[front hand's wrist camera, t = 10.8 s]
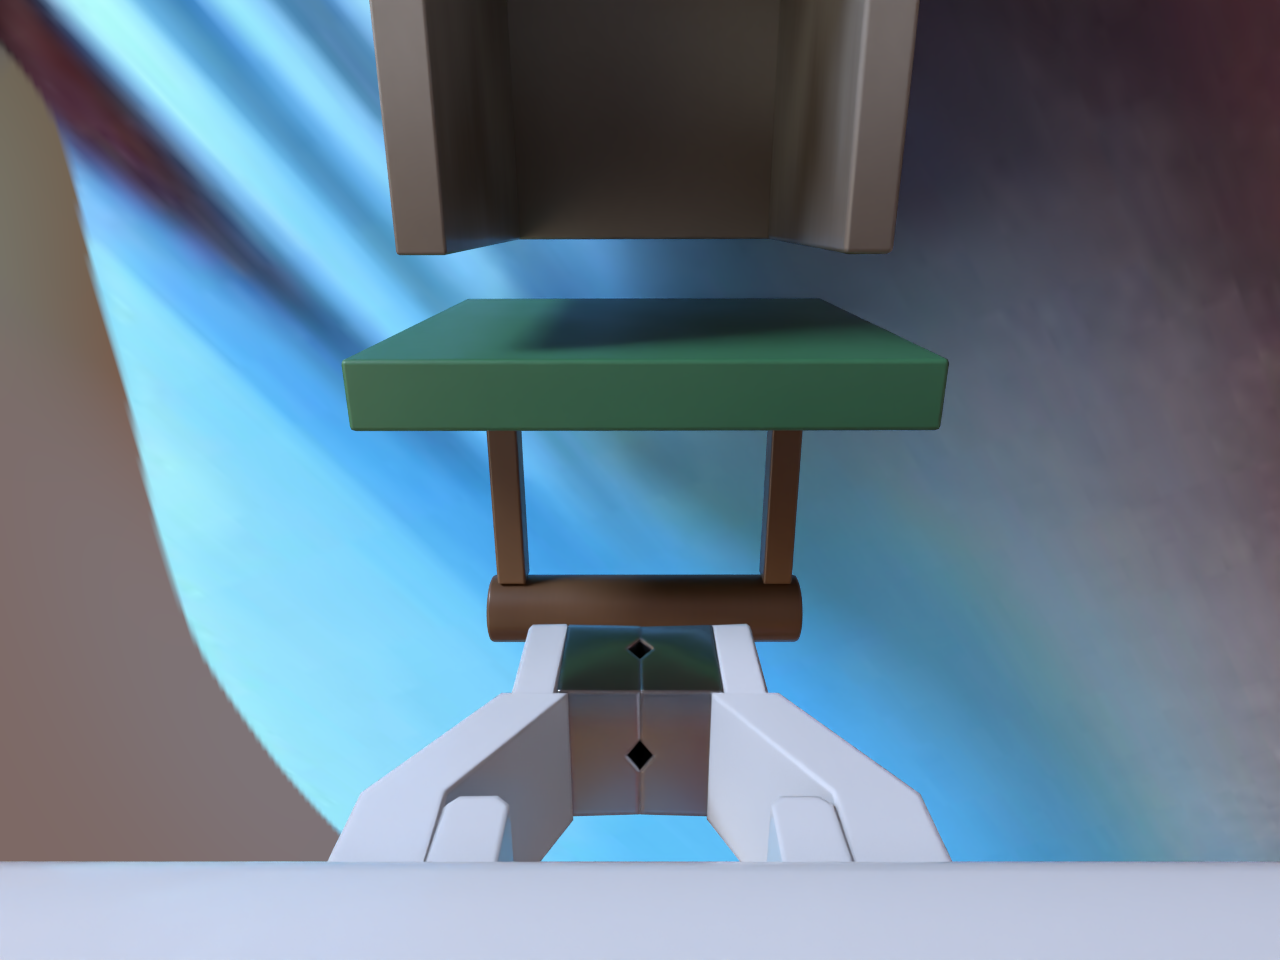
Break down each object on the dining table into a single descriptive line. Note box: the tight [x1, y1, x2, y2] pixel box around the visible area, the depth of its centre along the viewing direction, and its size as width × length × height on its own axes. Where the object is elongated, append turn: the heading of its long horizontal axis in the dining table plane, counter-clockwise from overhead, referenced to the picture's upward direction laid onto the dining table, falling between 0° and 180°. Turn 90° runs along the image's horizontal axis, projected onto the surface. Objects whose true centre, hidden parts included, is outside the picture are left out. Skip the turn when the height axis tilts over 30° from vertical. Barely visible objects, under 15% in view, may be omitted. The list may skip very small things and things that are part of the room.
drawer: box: [342, 0, 949, 642], centre depth 14 cm, size 24×10×9 cm, turn 0°
